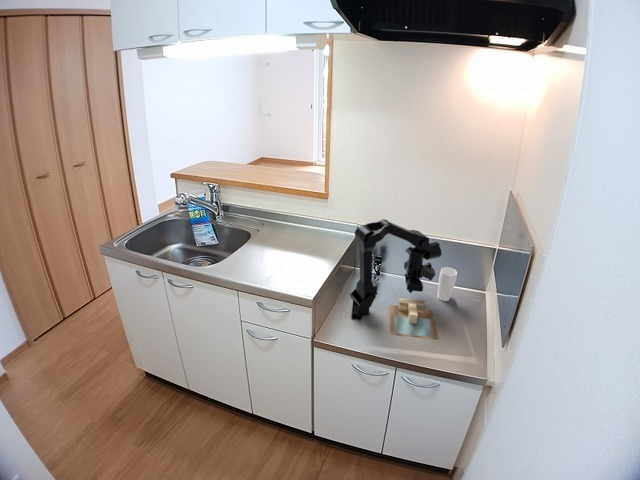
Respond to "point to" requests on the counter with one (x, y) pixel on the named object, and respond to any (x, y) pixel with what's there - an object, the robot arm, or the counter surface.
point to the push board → (412, 324)
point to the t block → (411, 308)
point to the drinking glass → (446, 283)
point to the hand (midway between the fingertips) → (410, 292)
